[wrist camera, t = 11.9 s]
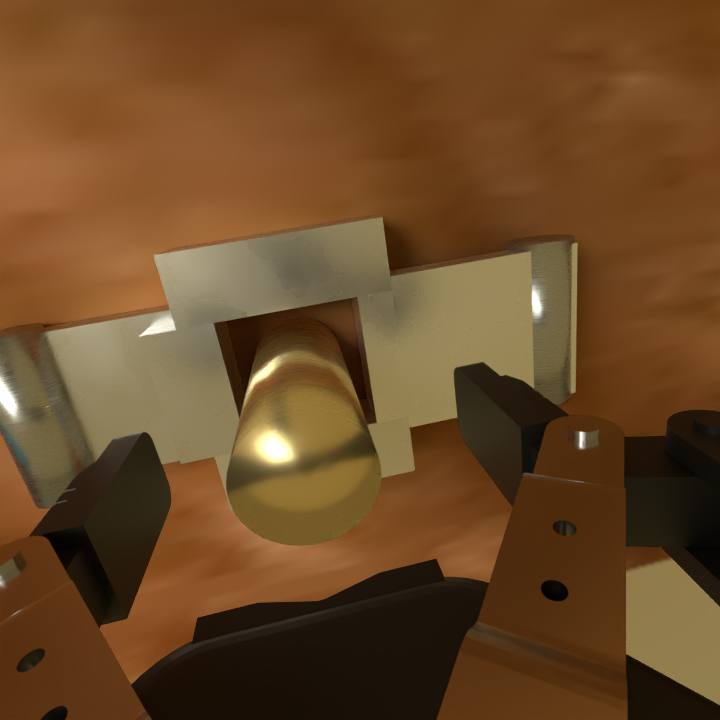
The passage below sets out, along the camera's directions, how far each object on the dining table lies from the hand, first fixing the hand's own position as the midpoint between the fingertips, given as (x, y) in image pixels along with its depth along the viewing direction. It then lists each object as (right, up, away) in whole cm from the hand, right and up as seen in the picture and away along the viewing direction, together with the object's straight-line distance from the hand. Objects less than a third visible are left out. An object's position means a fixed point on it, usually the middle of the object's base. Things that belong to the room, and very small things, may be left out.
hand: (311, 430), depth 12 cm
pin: (-1, +2, +7) cm, 7 cm away
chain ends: (-1, +2, +7) cm, 7 cm away
